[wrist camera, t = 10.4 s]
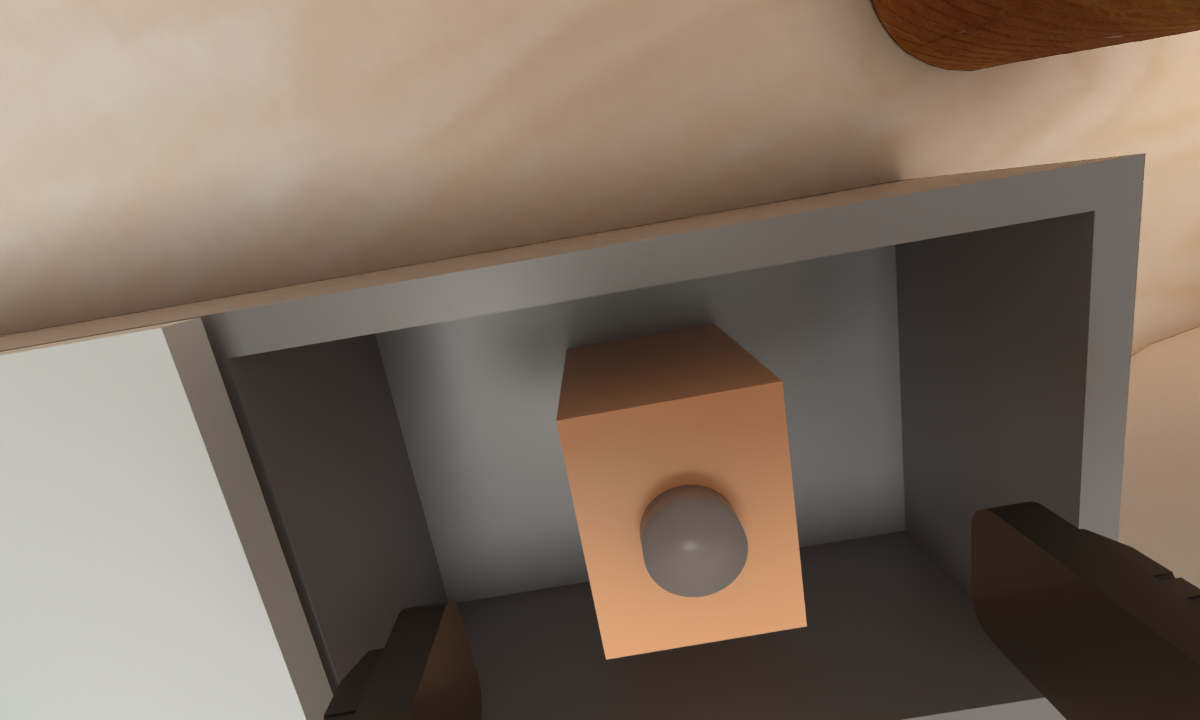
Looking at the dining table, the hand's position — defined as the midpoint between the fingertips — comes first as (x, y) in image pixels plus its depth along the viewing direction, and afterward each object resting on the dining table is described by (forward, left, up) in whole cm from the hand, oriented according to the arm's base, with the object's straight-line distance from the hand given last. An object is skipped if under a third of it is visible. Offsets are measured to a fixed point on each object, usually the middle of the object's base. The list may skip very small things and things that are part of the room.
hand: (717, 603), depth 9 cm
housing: (0, -9, -10) cm, 13 cm away
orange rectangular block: (0, 0, -9) cm, 9 cm away
